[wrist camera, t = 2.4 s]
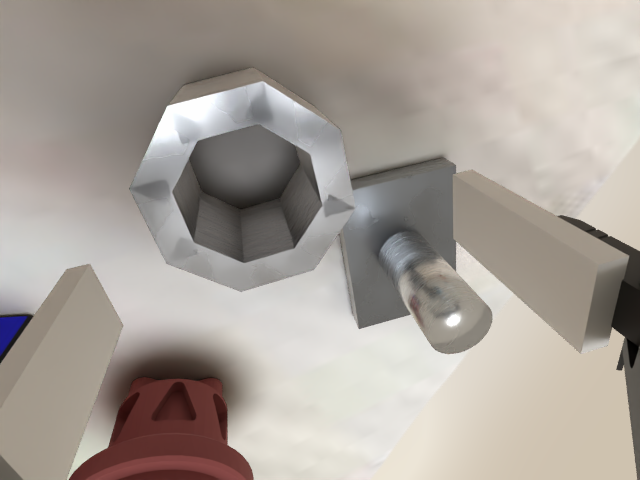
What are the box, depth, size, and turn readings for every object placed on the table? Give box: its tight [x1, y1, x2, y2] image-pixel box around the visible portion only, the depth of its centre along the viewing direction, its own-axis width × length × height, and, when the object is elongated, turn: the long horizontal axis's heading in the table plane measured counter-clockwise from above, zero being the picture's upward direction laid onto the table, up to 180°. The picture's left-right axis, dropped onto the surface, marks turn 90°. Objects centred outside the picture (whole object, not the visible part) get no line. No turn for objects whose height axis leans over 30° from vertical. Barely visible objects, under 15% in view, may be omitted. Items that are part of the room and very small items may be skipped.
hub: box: [129, 67, 356, 292], centre depth 19 cm, size 8×8×6 cm
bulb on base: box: [339, 158, 492, 354], centre depth 22 cm, size 10×7×8 cm
